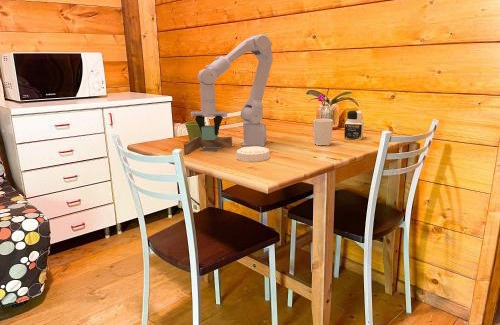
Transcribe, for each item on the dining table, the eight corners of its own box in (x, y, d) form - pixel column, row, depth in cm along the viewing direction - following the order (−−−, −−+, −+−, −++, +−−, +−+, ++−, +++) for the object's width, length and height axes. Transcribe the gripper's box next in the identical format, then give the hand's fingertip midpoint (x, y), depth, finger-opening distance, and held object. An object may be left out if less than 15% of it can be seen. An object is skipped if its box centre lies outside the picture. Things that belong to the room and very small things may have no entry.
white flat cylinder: (235, 163, 132) (234, 153, 131) (237, 154, 143) (237, 145, 142) (269, 162, 131) (269, 152, 130) (269, 154, 143) (269, 144, 142)
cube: (217, 137, 154) (217, 125, 152) (214, 140, 149) (213, 127, 148) (206, 137, 155) (205, 125, 153) (202, 139, 150) (201, 127, 149)
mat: (221, 147, 156) (221, 146, 156) (216, 151, 149) (216, 150, 149) (205, 147, 157) (205, 146, 157) (199, 151, 150) (199, 150, 150)
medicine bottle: (344, 139, 163) (344, 111, 160) (346, 136, 170) (347, 109, 167) (361, 140, 161) (362, 112, 158) (363, 137, 167) (364, 109, 164)
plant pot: (203, 144, 163) (202, 124, 161) (182, 144, 165) (181, 124, 162) (209, 140, 172) (208, 121, 169) (190, 139, 173) (188, 121, 171)
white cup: (334, 142, 157) (334, 118, 155) (329, 146, 151) (330, 121, 148) (315, 141, 161) (316, 118, 158) (310, 145, 154) (310, 121, 151)
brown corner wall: (232, 146, 157) (231, 136, 156) (222, 155, 142) (221, 144, 141) (197, 145, 160) (197, 136, 159) (184, 154, 146) (183, 144, 145)
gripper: (186, 101, 146) (189, 136, 149) (223, 101, 143) (224, 136, 146) (193, 99, 152) (195, 133, 156) (228, 99, 149) (229, 133, 153)
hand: (210, 134), depth 152 cm, fingers closed on cube, 5 cm apart
